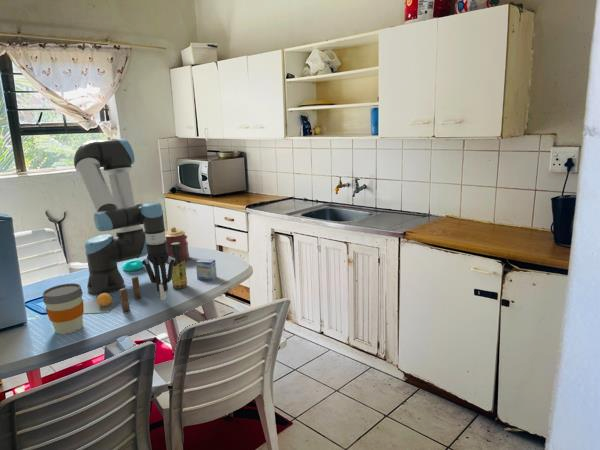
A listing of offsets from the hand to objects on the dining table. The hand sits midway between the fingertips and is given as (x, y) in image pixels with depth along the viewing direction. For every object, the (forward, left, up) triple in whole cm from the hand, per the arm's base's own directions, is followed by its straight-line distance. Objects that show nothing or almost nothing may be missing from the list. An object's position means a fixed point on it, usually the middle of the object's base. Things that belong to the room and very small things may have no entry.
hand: (163, 298), depth 179 cm
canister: (-10, +56, -2) cm, 57 cm away
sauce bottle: (+2, +17, -2) cm, 17 cm away
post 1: (-13, -6, -2) cm, 15 cm away
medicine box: (+12, +26, -2) cm, 29 cm away
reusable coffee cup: (-29, -19, -2) cm, 35 cm away
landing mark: (-27, 0, -2) cm, 27 cm away
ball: (-24, 0, +1) cm, 24 cm away
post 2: (-13, +6, -2) cm, 15 cm away
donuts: (-29, +45, -2) cm, 54 cm away
